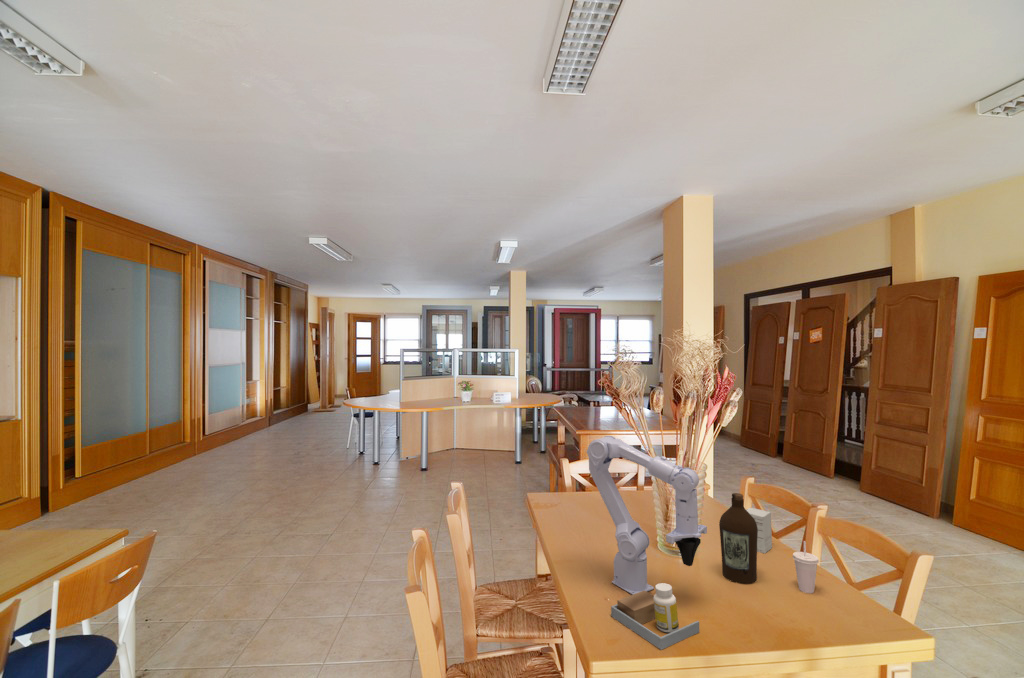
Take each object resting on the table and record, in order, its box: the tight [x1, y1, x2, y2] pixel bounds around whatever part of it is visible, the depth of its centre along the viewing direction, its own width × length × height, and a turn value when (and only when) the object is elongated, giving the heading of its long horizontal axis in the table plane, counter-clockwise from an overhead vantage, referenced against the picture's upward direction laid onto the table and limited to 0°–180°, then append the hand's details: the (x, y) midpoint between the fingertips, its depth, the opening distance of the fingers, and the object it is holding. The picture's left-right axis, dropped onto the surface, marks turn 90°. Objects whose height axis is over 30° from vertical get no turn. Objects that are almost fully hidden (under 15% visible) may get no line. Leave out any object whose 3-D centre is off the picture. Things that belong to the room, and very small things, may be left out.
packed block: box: [617, 590, 656, 625], centre depth 122 cm, size 6×10×4 cm, turn 121°
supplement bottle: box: [653, 582, 680, 633], centre depth 117 cm, size 5×5×10 cm
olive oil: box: [718, 492, 758, 585], centre depth 144 cm, size 11×11×25 cm
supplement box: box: [746, 507, 773, 554], centre depth 165 cm, size 7×7×13 cm
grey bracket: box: [610, 604, 700, 651], centre depth 118 cm, size 16×14×2 cm
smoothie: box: [792, 540, 820, 594], centre depth 135 cm, size 6×6×14 cm
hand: (687, 564), depth 129 cm, fingers closed
